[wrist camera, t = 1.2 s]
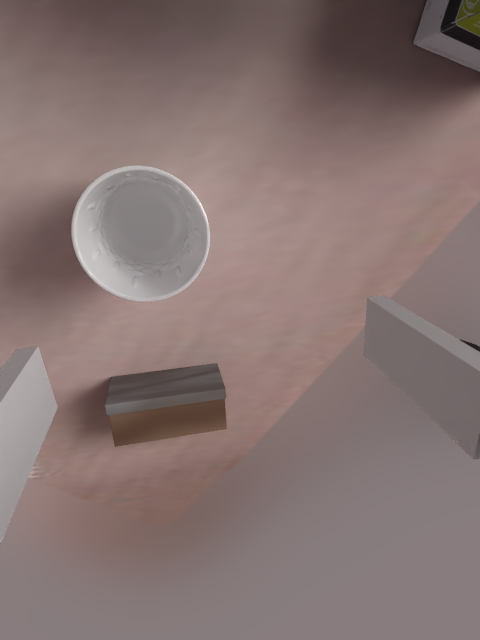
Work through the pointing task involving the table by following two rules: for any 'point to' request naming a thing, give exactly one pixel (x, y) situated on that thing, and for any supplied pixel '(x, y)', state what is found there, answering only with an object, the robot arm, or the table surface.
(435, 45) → the tea box
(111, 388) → the block
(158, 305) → the table surface
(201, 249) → the white cup
